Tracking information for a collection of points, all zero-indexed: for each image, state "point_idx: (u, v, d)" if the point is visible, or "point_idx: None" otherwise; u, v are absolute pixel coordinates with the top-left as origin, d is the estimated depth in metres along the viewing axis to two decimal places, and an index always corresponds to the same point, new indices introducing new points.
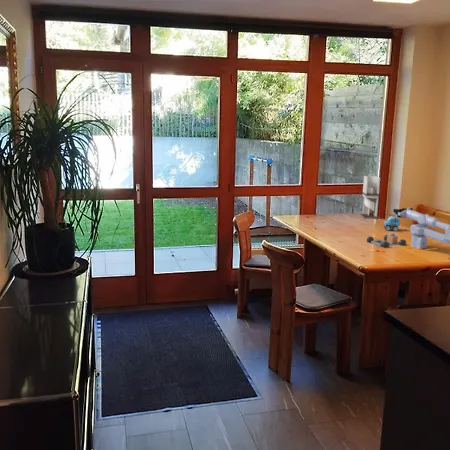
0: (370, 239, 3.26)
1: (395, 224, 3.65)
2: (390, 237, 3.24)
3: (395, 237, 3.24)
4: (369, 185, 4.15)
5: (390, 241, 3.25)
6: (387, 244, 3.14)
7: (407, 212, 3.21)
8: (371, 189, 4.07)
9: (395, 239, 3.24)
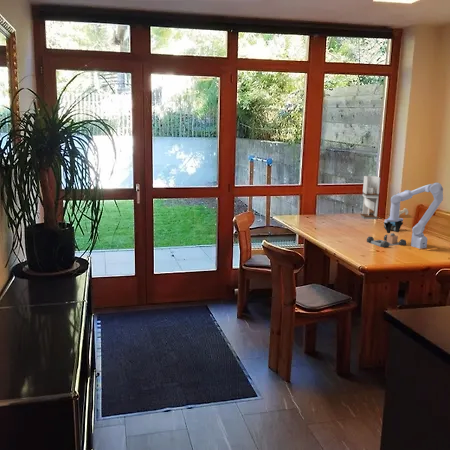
0: (370, 239, 3.26)
1: None
2: (390, 237, 3.24)
3: (395, 237, 3.24)
4: (369, 185, 4.15)
5: (390, 241, 3.25)
6: (387, 244, 3.14)
7: None
8: (371, 189, 4.07)
9: (395, 239, 3.24)
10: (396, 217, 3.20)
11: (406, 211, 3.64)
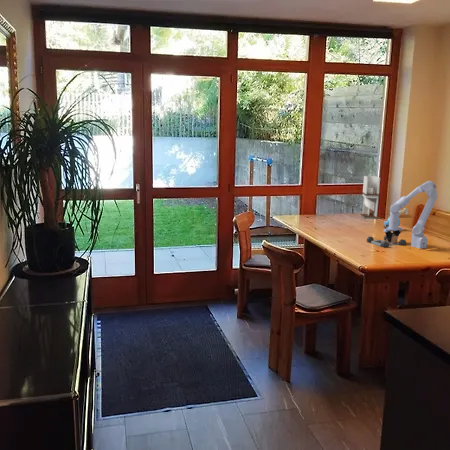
0: (370, 239, 3.26)
1: None
2: None
3: (395, 237, 3.24)
4: (369, 185, 4.15)
5: None
6: (387, 244, 3.14)
7: (389, 226, 3.24)
8: (371, 189, 4.07)
9: (395, 239, 3.24)
10: (395, 226, 3.21)
11: (406, 211, 3.64)
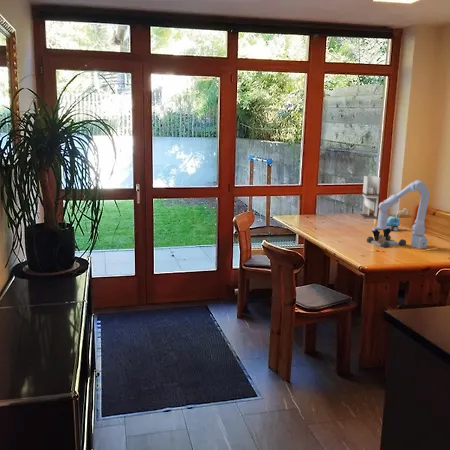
0: (370, 239, 3.26)
1: (395, 224, 3.65)
2: (378, 238, 3.21)
3: (383, 238, 3.20)
4: (369, 185, 4.15)
5: (378, 242, 3.21)
6: (387, 244, 3.14)
7: None
8: (371, 189, 4.07)
9: (383, 240, 3.20)
10: (384, 225, 3.17)
11: (406, 211, 3.64)
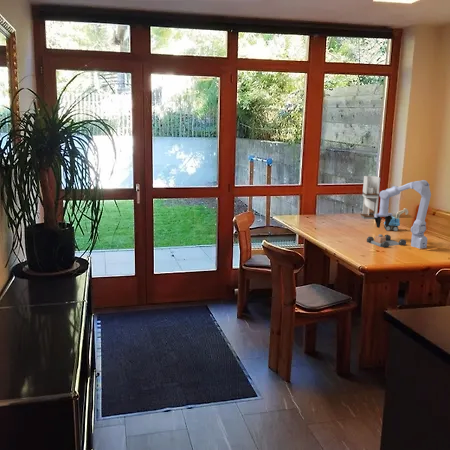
0: (370, 239, 3.26)
1: (395, 224, 3.65)
2: (378, 238, 3.21)
3: (383, 238, 3.20)
4: (369, 185, 4.15)
5: (378, 242, 3.21)
6: (387, 244, 3.14)
7: (379, 211, 3.33)
8: (371, 189, 4.07)
9: (383, 240, 3.20)
10: (385, 212, 3.30)
11: (406, 211, 3.64)
